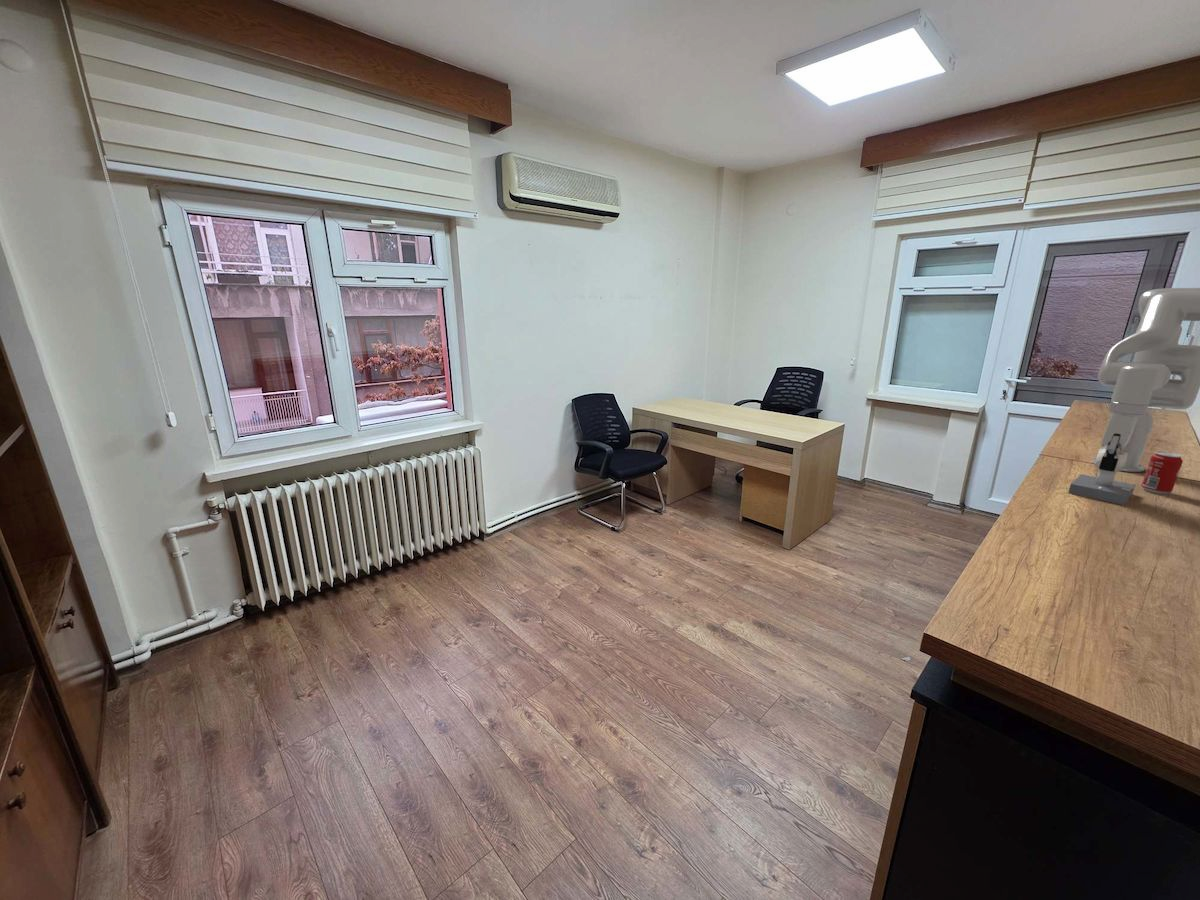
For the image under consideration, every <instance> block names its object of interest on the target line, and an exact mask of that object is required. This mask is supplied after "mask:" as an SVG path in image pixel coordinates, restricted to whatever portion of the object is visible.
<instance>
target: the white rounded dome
mask: <svg viewBox="0 0 1200 900" xmlns="http://www.w3.org/2000/svg"><path fill="white" fill-rule="evenodd" d="M1105 451H1106V449H1103V448H1099V449H1098V452H1097V455H1096V458H1097V459H1096V458H1095V459H1096V462H1095V464H1094V467H1095V468H1098V469H1099V466H1100V463H1101V460H1102V457H1103V456H1104V453H1105ZM1116 452H1117V450H1116ZM1127 456H1128V453H1126V452H1123V451H1120V452H1119V454H1118V457H1117V458H1118V462H1117V465H1116V468H1115V471H1116V472H1124V471H1123V468H1124V465H1125V462H1126V459H1127Z"/></svg>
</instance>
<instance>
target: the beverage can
mask: <svg viewBox="0 0 1200 900" xmlns="http://www.w3.org/2000/svg"><path fill="white" fill-rule="evenodd" d="M1181 457H1182V455H1181V454H1178V453H1173V452H1170V451H1169V452H1168V451H1156V452H1155V453H1154V454H1153V455H1151V457H1150V460H1149V462H1148V464H1147V469H1146V471H1145V474H1144V476H1143V480H1142V483H1141V487H1142V488H1143V490H1144V491H1146V492H1149V493H1152V494H1157V495H1158V494H1159V495H1167V494H1169V493H1171V492H1172V491H1173V489H1174V487H1175V484H1176V482H1177V479H1178V476H1179V473H1180V470H1181V469H1182V468H1181V467H1182V465H1183V462H1184V460H1183V459H1182V458H1181Z"/></svg>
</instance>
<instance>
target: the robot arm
mask: <svg viewBox="0 0 1200 900" xmlns="http://www.w3.org/2000/svg"><path fill="white" fill-rule="evenodd" d="M1138 313H1139V316H1140V321H1139V323H1138V326H1137V329H1136V330H1135V333H1134V334H1132V335H1129V336H1127V337H1125V338H1124V339H1122V340H1120V341H1118V342H1117V343H1115V344H1114V345H1113V346H1112V347H1110V348H1109V349H1108V351H1107V353H1106V354H1105V356H1104V358H1103V360H1102V363H1101V365H1100V367H1099V370H1098V373H1097V381H1098V382H1099V384H1100V385H1102V386H1106V387H1114V389H1113V393H1112V395H1111V399H1110V400H1109V401H1110V402H1109V406H1108V409H1107V410H1106V411H1107V413H1108V414H1111V415H1110V417H1109V419H1108V422H1107V425H1106V428H1105V431H1104V433H1103V436H1102V440H1101V442H1100V446H1101V447H1103V448H1102V449H1106V451H1105V453H1104V456H1103V457H1102V460H1101V463H1100V466H1099V468H1098V470H1099V469H1100V470H1106V471H1111V472H1113V471H1115V468H1116V465H1117V462H1118V458H1117V457H1118V454H1119V452H1120V451H1123V452H1126V453H1128V456H1127V459H1126V462H1125V465H1124V468H1123V471H1122V472H1129V473H1141V472H1144V471H1145V467H1144V466H1143V465H1141V464H1140V462H1141V459H1142V456H1143V454H1144V450H1145V448H1146V444H1147V441H1148V438H1149V436H1150V433H1151V430H1152V426H1153V425H1154V417H1153V415H1152V414H1151V412H1150V410H1148V408H1149V407H1150V408H1158V409H1159V408H1160V409H1162V408H1163V409H1170V410H1186V409H1189V408H1190V407H1192V406H1193V404H1194V403H1195V401H1196V398H1197V396H1198V394H1199V390H1200V345H1194V344H1192V345H1191V344H1179V342H1180V341H1179V340H1180V338H1181V334H1182V331H1183V327H1182V324H1183V322H1185V321H1186V322H1188V321H1191V322H1192V321H1193V322H1200V287H1168V288H1155V289H1154V288H1153V289H1150V290H1147V291H1145V292H1143V293H1142V294H1141V295H1140V297H1139V299H1138ZM1134 353H1135V355H1134V358H1133V361H1123V360H1122V361H1121V360H1119V359H1121V358H1123V357H1125V356H1127V355H1131V354H1134ZM1171 375H1172V376H1174V375H1175V376H1179V377H1180V379H1179V378H1178V379H1176V378H1171ZM1116 450H1117V452H1116ZM1096 459H1097V457H1096V458H1093V460H1092V463H1093V464H1094V465H1095V462H1096Z"/></svg>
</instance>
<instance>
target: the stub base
mask: <svg viewBox="0 0 1200 900" xmlns="http://www.w3.org/2000/svg"><path fill="white" fill-rule="evenodd" d="M1116 474H1117V471H1113V472H1111V471H1106V470H1100V469H1099V468H1098V471H1097V474H1096V476H1091V475H1087V474H1080V475H1079V476H1077V477H1076V478H1075V479H1074V480H1073V481H1072V482H1071V483H1070V487H1069V490H1068V494H1070V493H1072V494H1071V495H1075V494H1076V495H1075V496H1080V495H1081V496H1080V497H1086V498H1089V499H1093V500H1098V501H1103V502H1106V503H1107V502H1108V503H1113V504H1116V503H1117V505H1121V504H1122V505H1121V506H1126V505H1127V502H1128V501H1129V500H1130V498H1131V497H1132V496H1133V493H1134V490H1135V487H1136V484H1134V483H1129V482H1128V483H1127V482H1122V481H1117V480H1114V479H1115V477H1116ZM1130 496H1131V497H1130ZM1125 504H1126V505H1125Z"/></svg>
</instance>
